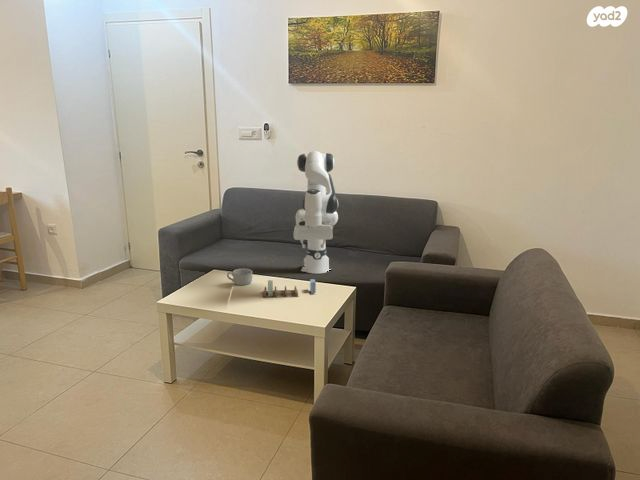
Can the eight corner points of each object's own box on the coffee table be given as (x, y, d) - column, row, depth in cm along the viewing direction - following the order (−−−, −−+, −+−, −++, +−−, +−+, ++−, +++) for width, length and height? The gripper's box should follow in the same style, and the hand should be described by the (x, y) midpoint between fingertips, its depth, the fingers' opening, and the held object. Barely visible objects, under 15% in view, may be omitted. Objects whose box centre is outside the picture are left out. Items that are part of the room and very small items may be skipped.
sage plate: (268, 292, 243) (268, 280, 242) (272, 292, 243) (272, 280, 242) (268, 295, 238) (267, 283, 236) (272, 295, 238) (272, 283, 236)
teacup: (254, 282, 264) (254, 268, 262) (250, 288, 253) (249, 274, 252) (230, 281, 265) (230, 268, 264) (225, 287, 255) (224, 273, 253)
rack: (263, 292, 246) (263, 286, 245) (297, 291, 248) (297, 285, 247) (262, 299, 234) (262, 293, 234) (298, 299, 236) (298, 292, 235)
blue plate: (310, 291, 249) (310, 279, 248) (314, 290, 250) (314, 279, 248) (310, 294, 244) (311, 282, 243) (315, 294, 244) (315, 282, 243)
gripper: (332, 220, 243) (332, 246, 246) (293, 220, 241) (293, 246, 244) (334, 222, 237) (333, 248, 240) (293, 222, 235) (293, 249, 238)
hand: (313, 247), depth 242 cm, fingers open, 8 cm apart
